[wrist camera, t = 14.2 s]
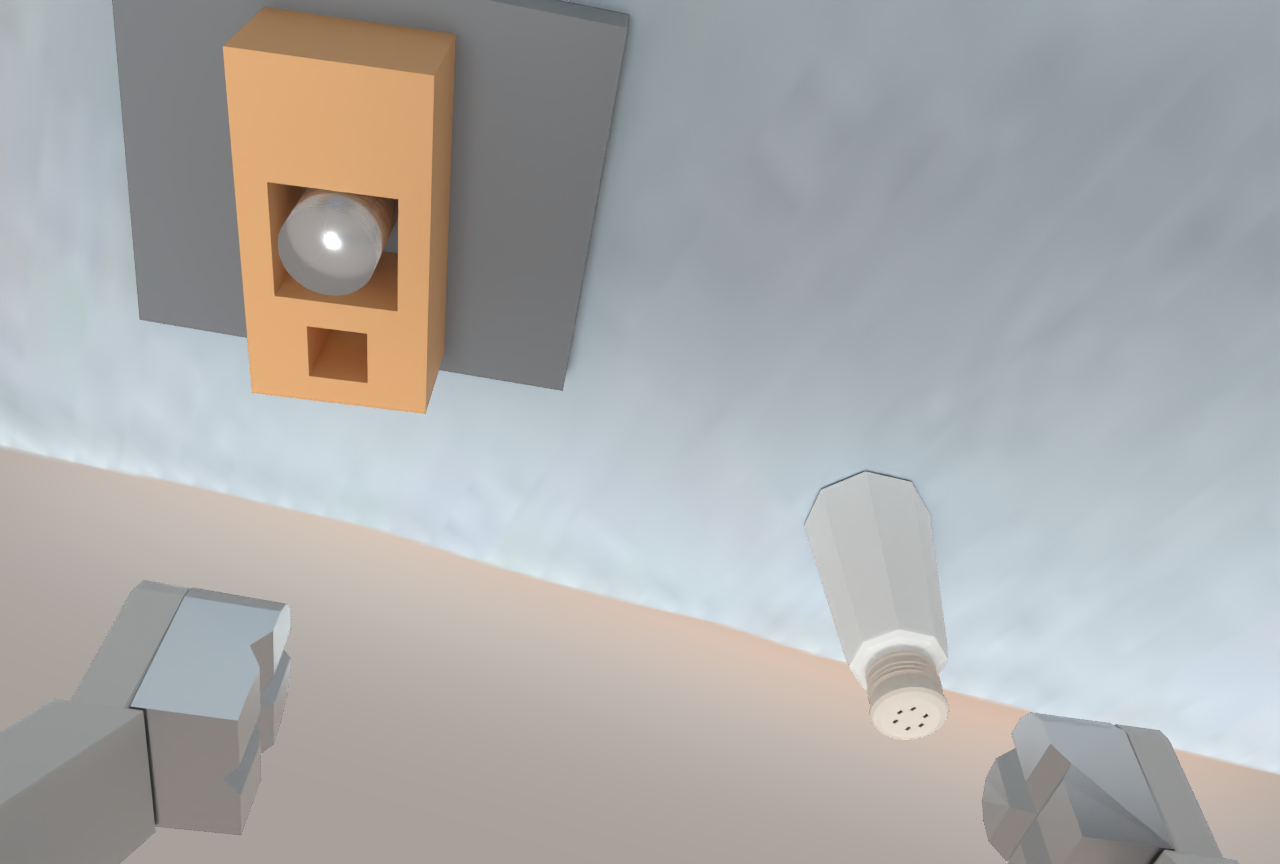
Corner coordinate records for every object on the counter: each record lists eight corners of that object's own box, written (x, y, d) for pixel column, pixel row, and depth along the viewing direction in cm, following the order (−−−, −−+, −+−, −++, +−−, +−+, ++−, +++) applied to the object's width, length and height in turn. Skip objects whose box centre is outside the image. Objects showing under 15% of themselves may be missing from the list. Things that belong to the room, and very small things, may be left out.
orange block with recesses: (264, 6, 35) (222, 46, 32) (455, 34, 35) (434, 75, 32) (284, 333, 42) (252, 392, 39) (443, 353, 42) (425, 413, 39)
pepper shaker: (955, 510, 48) (1020, 711, 39) (867, 581, 51) (909, 785, 42) (864, 447, 46) (911, 644, 38) (778, 525, 49) (802, 726, 40)
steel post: (417, 137, 39) (378, 217, 34) (411, 215, 41) (373, 303, 35) (330, 120, 39) (277, 199, 33) (328, 199, 40) (277, 286, 35)
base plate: (629, 14, 36) (627, 27, 35) (565, 369, 44) (562, 390, 43) (125, -87, 35) (105, -76, 34) (154, 299, 43) (139, 319, 42)
